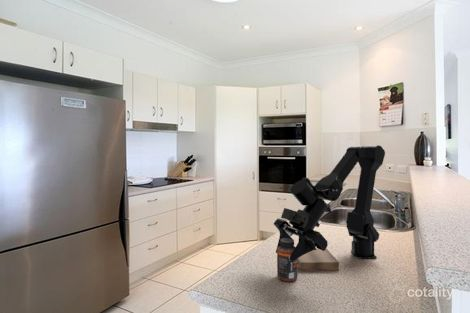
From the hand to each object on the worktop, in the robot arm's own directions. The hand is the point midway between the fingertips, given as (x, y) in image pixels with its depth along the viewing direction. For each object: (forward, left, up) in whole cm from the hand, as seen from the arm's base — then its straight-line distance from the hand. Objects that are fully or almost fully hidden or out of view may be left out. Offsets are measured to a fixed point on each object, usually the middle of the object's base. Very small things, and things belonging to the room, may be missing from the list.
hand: (283, 256), depth 83 cm
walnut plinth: (-12, -12, -7) cm, 18 cm away
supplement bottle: (-1, -1, -7) cm, 7 cm away
